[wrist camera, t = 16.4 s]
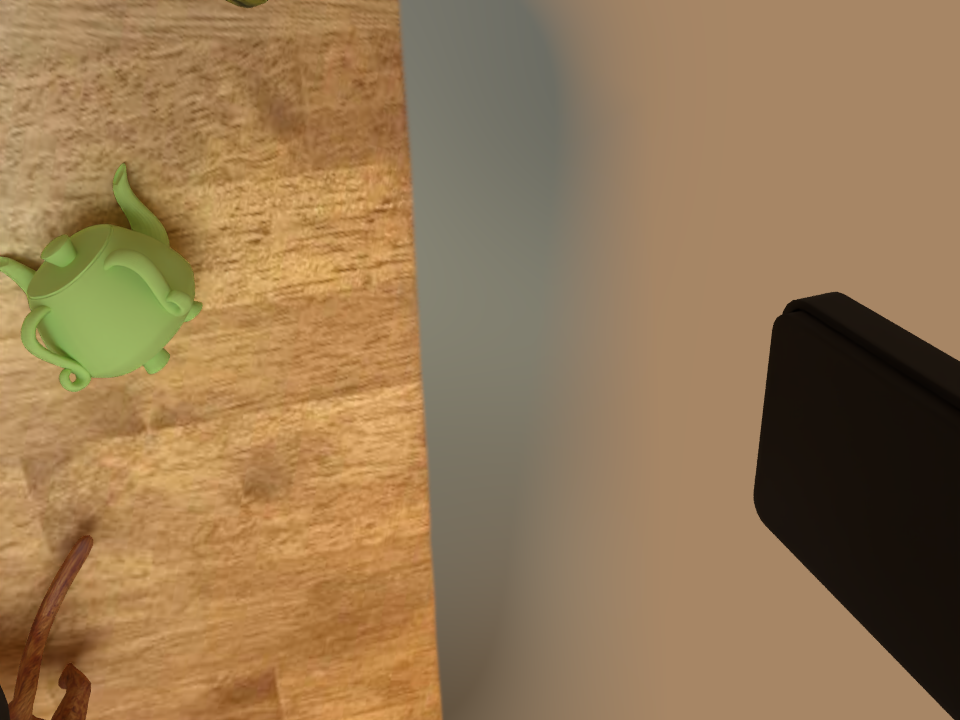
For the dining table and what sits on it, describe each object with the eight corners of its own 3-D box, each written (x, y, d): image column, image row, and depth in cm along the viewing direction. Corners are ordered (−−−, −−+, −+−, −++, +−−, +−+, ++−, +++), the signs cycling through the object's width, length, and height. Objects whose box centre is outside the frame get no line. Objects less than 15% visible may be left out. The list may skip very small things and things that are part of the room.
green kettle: (123, 162, 33) (122, 211, 28) (219, 267, 36) (232, 328, 31) (-12, 261, 33) (-35, 326, 28) (95, 358, 36) (89, 432, 31)
